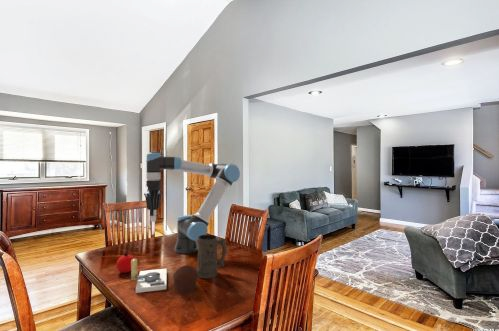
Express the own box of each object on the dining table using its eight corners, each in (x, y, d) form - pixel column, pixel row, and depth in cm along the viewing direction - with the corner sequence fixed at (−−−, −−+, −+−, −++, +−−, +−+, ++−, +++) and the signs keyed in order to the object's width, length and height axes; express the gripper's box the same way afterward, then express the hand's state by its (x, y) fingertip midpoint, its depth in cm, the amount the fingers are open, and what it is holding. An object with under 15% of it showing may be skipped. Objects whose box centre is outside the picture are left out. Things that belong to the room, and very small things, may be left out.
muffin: (199, 293, 119) (199, 270, 119) (173, 296, 115) (173, 273, 115) (196, 282, 130) (197, 261, 130) (173, 284, 127) (173, 263, 127)
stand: (166, 272, 141) (166, 265, 141) (166, 289, 122) (166, 280, 122) (139, 275, 137) (139, 267, 137) (135, 293, 118) (135, 284, 118)
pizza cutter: (160, 274, 132) (160, 254, 132) (159, 280, 126) (160, 259, 126) (132, 277, 128) (132, 257, 128) (130, 284, 122) (130, 262, 122)
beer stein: (198, 280, 132) (201, 239, 132) (192, 272, 141) (195, 234, 141) (227, 276, 139) (230, 238, 139) (219, 269, 148) (222, 233, 149)
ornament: (117, 277, 135) (117, 257, 135) (115, 270, 142) (115, 252, 142) (136, 273, 140) (136, 254, 140) (133, 267, 147) (133, 249, 147)
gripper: (155, 179, 160) (155, 218, 160) (140, 180, 147) (139, 223, 147) (166, 179, 157) (165, 219, 157) (151, 180, 145) (151, 224, 145)
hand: (153, 221), depth 152 cm, fingers closed
